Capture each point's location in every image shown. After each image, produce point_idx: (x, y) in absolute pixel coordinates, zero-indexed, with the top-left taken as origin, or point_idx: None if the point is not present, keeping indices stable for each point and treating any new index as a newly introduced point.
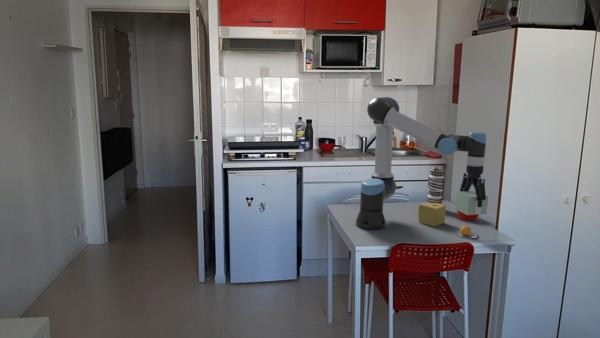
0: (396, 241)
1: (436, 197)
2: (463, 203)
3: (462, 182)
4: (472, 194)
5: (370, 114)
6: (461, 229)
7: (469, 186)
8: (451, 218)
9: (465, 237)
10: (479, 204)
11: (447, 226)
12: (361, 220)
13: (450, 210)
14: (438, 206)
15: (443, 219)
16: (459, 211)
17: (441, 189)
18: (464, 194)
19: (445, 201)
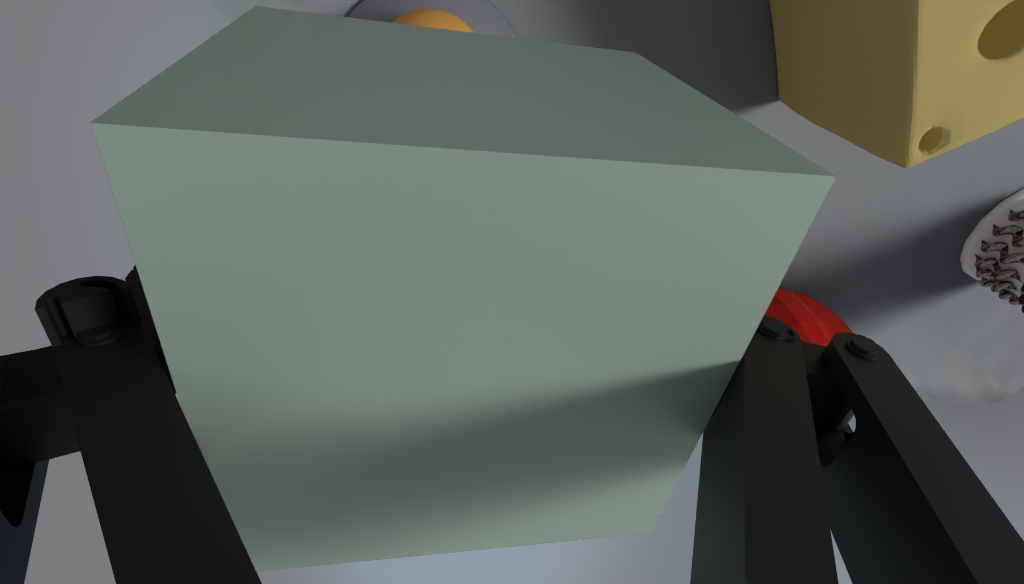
0: None
1: None
2: (421, 68)
3: (1002, 544)
4: (427, 388)
5: None
6: (436, 15)
7: (707, 547)
8: (810, 232)
9: (366, 10)
10: (129, 283)
11: (700, 65)
12: None
13: (911, 321)
14: (957, 40)
15: (798, 90)
16: (802, 306)
17: None
18: (483, 190)
19: (1018, 381)
